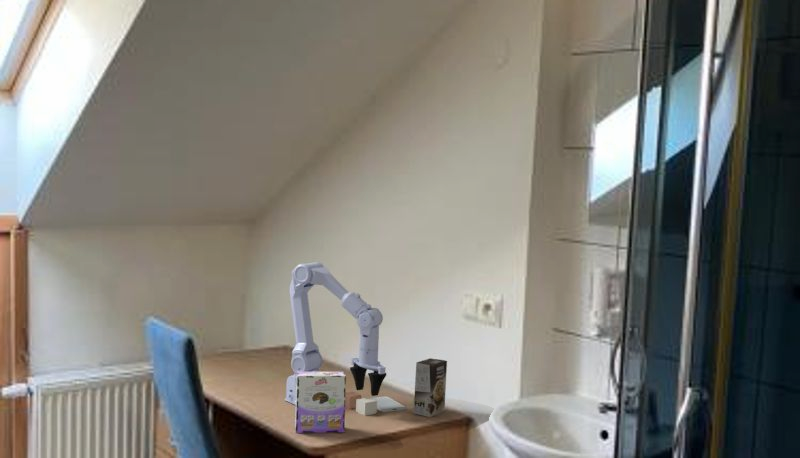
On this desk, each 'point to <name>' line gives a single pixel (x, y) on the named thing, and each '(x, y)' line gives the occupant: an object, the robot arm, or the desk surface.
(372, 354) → the robot arm
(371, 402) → the cream block
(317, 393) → the candy box
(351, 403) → the brown block
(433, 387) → the coffee box
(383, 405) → the hard drive
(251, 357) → the desk surface
